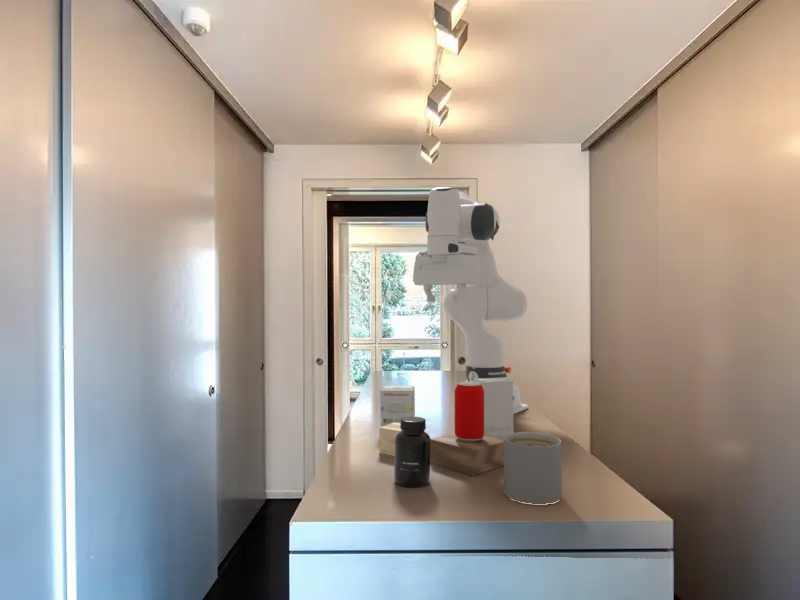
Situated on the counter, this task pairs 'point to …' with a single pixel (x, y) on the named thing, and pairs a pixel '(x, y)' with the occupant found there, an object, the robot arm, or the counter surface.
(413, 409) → the ink box
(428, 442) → the supplement bottle
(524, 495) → the coffee mug
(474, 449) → the walnut block
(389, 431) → the oak block
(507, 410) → the skincare box
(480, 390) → the beverage can
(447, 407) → the counter surface
